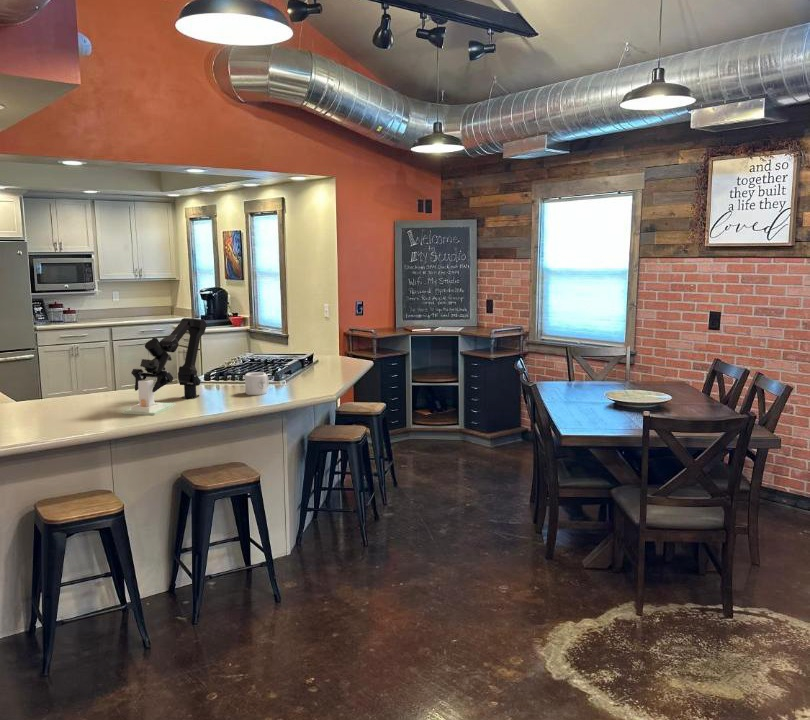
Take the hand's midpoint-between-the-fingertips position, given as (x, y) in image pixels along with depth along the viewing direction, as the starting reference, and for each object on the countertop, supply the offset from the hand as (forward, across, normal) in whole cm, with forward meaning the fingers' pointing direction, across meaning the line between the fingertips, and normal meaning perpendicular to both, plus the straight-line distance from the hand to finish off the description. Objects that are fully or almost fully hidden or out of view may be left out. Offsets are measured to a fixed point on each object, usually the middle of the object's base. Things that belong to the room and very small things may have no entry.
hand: (144, 391), depth 302 cm
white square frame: (+6, 0, +8) cm, 10 cm away
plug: (+5, 0, +7) cm, 9 cm away
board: (+3, -2, +10) cm, 11 cm away
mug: (-32, +25, +46) cm, 61 cm away
